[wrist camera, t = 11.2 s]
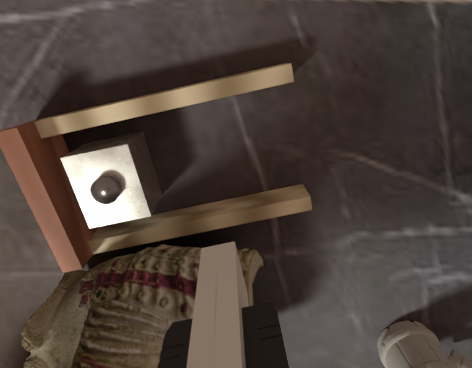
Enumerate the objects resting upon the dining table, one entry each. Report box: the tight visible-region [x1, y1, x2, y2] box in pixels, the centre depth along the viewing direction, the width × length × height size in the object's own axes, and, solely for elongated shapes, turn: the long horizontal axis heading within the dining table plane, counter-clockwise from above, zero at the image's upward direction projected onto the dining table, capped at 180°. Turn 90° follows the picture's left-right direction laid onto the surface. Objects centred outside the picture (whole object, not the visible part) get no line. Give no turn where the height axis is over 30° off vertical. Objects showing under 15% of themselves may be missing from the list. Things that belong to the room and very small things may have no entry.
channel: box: [0, 63, 312, 273], centre depth 31 cm, size 25×14×6 cm, turn 102°
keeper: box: [60, 131, 162, 228], centre depth 31 cm, size 6×7×6 cm
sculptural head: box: [21, 244, 265, 368], centre depth 32 cm, size 17×21×25 cm
